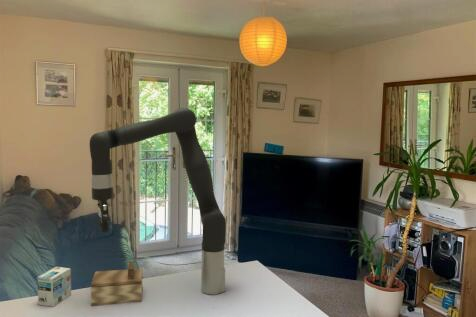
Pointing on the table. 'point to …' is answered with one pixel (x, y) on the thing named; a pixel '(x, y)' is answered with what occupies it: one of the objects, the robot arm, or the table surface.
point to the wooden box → (116, 294)
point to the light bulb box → (54, 286)
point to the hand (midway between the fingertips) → (103, 228)
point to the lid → (117, 277)
